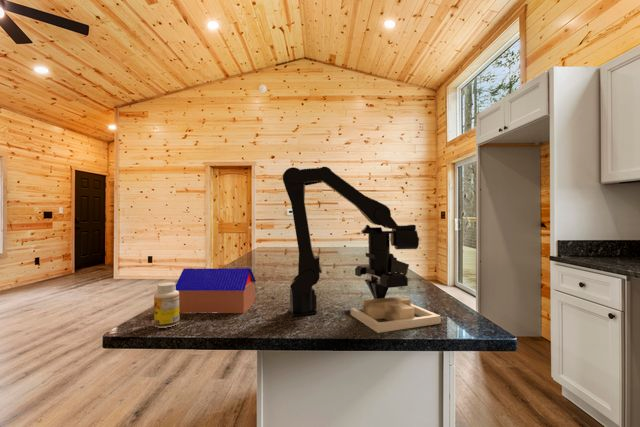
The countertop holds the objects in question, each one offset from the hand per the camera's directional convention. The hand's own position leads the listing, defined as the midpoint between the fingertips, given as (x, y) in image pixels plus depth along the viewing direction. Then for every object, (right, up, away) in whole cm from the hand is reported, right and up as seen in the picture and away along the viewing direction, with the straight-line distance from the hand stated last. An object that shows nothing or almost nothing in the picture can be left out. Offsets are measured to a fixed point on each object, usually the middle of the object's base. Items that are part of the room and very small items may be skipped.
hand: (379, 306), depth 88 cm
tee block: (+2, -1, -7) cm, 7 cm away
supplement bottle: (-54, -2, -10) cm, 55 cm away
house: (-47, -2, +5) cm, 47 cm away
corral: (+2, -1, -7) cm, 7 cm away
